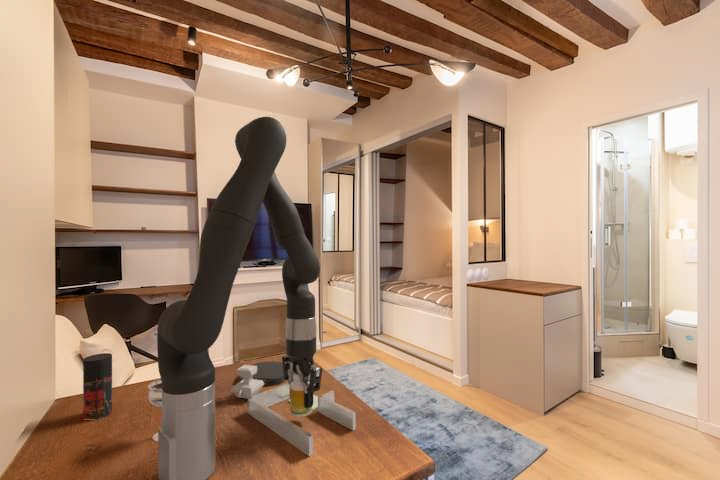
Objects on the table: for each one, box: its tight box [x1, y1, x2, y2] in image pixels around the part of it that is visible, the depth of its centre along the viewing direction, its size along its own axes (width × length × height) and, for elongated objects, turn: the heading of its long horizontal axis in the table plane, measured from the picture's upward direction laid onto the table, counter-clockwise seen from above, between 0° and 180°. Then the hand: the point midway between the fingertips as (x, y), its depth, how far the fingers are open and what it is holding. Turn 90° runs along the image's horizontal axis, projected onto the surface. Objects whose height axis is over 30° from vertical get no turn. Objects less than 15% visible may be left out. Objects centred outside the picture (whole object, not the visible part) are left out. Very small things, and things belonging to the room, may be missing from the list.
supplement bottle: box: [289, 372, 313, 418], centre depth 83 cm, size 5×5×10 cm
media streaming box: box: [239, 360, 289, 386], centre depth 112 cm, size 15×15×3 cm
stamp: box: [230, 364, 265, 400], centre depth 97 cm, size 9×7×8 cm
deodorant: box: [82, 352, 113, 420], centre depth 87 cm, size 6×6×15 cm
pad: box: [287, 393, 319, 412], centre depth 93 cm, size 7×9×1 cm
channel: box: [246, 382, 357, 457], centre depth 85 cm, size 18×26×4 cm
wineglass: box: [147, 378, 162, 442], centre depth 78 cm, size 7×7×12 cm
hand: (301, 402), depth 83 cm, fingers closed on supplement bottle, 5 cm apart
